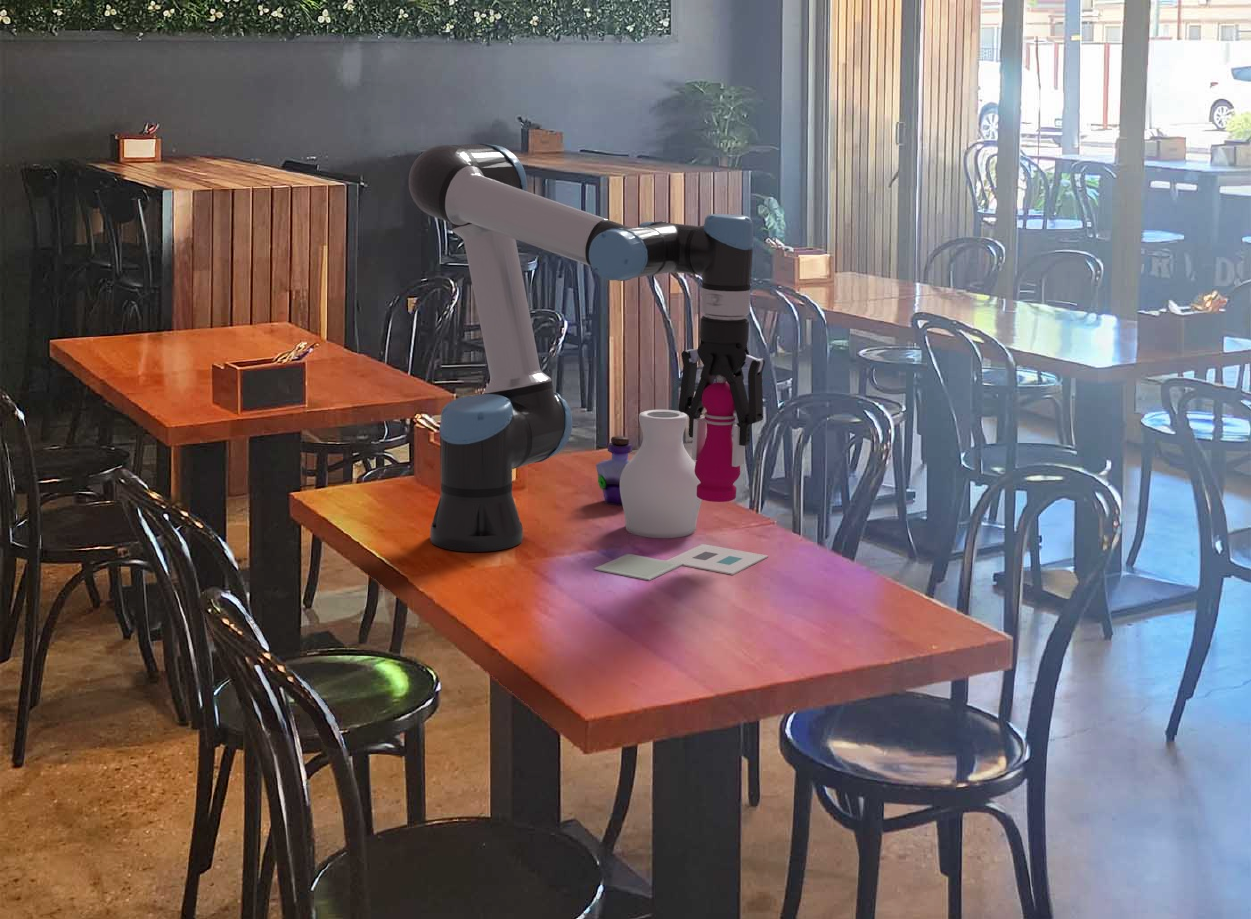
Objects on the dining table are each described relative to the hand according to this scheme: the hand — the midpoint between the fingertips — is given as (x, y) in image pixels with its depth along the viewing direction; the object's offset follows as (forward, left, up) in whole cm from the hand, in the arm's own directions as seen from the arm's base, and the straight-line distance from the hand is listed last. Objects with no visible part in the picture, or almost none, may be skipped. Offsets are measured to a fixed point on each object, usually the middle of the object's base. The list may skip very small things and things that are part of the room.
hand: (717, 461), depth 253 cm
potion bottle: (-32, +23, -16) cm, 43 cm away
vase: (-17, +11, -16) cm, 26 cm away
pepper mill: (0, 0, -6) cm, 6 cm away
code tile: (0, 0, -16) cm, 16 cm away
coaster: (-8, -11, -16) cm, 21 cm away
